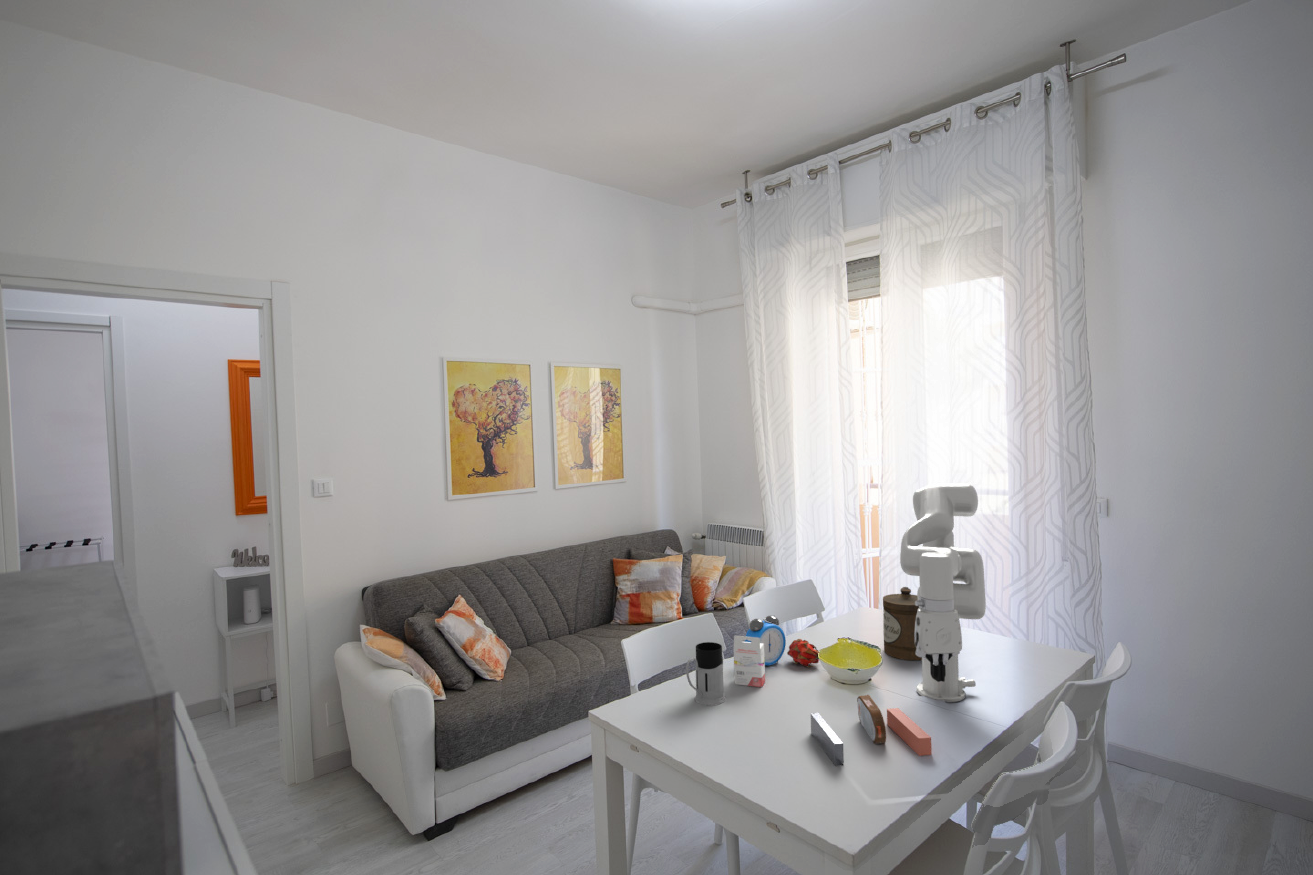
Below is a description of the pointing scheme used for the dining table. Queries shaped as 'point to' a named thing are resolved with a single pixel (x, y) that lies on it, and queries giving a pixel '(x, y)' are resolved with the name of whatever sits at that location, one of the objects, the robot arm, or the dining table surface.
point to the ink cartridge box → (749, 661)
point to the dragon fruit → (803, 652)
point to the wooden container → (900, 624)
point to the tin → (871, 719)
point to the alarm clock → (768, 638)
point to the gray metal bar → (827, 739)
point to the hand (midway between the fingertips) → (938, 679)
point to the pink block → (909, 731)
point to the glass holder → (708, 674)
